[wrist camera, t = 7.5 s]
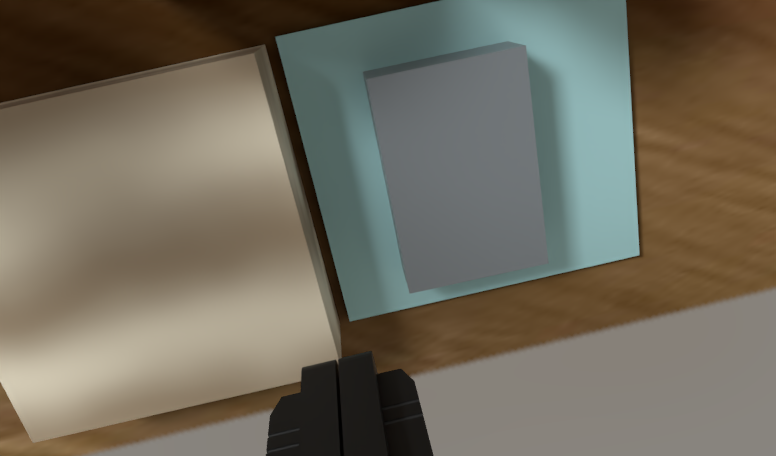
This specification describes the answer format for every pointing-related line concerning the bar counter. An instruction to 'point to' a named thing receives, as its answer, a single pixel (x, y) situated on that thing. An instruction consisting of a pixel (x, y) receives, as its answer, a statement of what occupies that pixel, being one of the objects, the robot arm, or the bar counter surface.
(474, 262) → the grey rectangular block
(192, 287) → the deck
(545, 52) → the mat
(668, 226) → the bar counter surface
